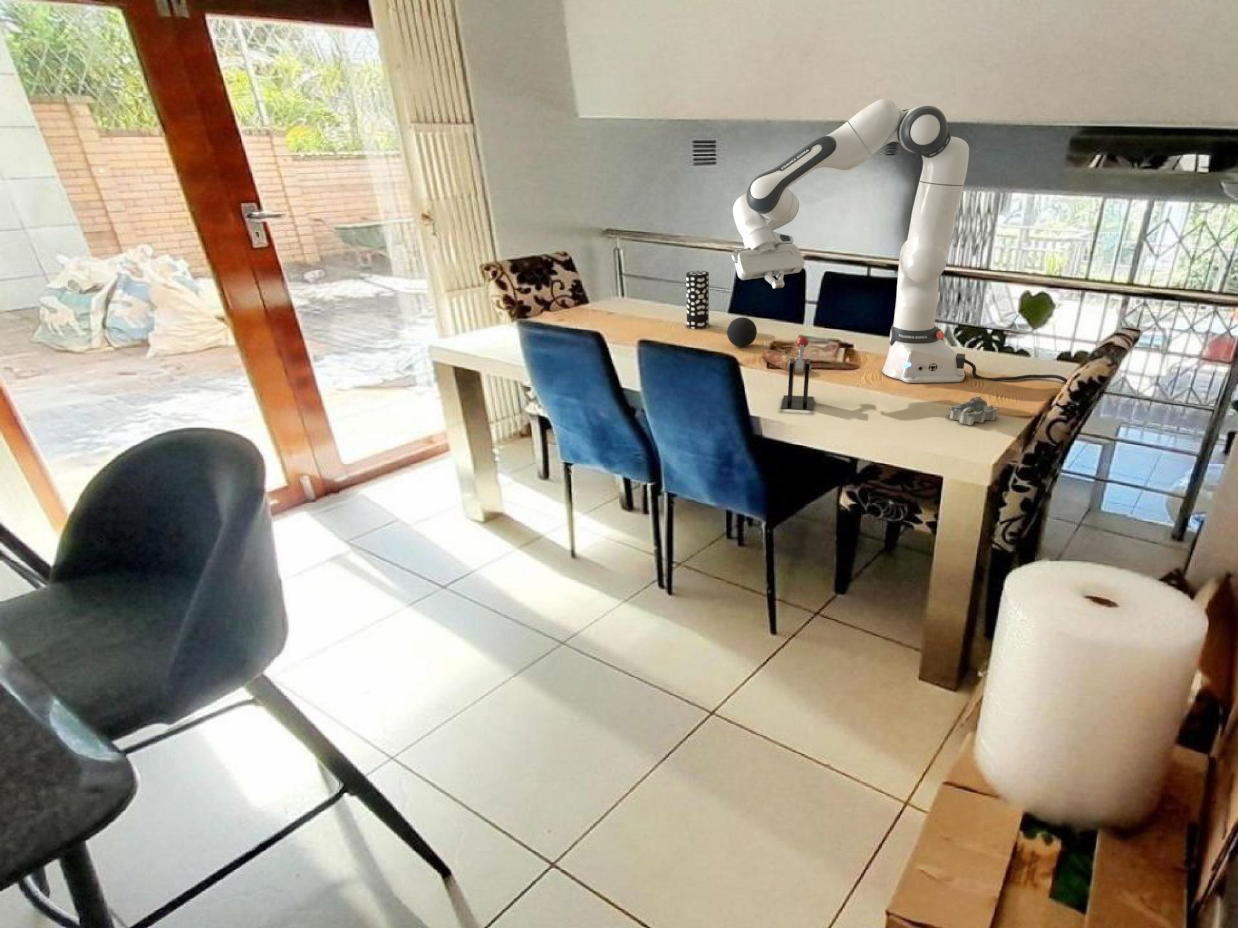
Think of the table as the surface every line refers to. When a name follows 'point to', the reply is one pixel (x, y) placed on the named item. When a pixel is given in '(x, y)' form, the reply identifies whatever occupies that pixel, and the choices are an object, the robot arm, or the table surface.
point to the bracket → (798, 401)
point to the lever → (801, 355)
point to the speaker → (741, 332)
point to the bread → (780, 359)
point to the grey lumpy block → (973, 411)
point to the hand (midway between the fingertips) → (779, 287)
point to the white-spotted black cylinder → (697, 299)
